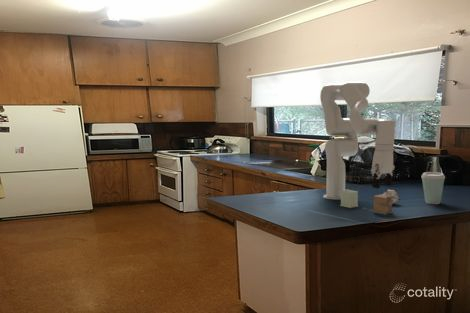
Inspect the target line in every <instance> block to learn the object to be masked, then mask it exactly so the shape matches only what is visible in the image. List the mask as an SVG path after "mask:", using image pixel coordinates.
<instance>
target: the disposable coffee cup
mask: <svg viewBox="0 0 470 313" xmlns="http://www.w3.org/2000/svg"><path fill="white" fill-rule="evenodd" d="M445 179H446V176H445V174H444V173H442V172H438V171H426V172H423V173H422V174H421V181H422V189H423V194H424V201H425V204H430V205H439V204H440V203H441V200H442V194H443V190H444V183H445Z"/></svg>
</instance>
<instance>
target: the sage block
mask: <svg viewBox="0 0 470 313" xmlns="http://www.w3.org/2000/svg"><path fill="white" fill-rule="evenodd" d="M358 194H359V191H358V190H354V189H353V190H352V189H348V190H347V189H346V190H344V191H341V199H340V205H341V206H340V207H344V206H346V207H345V208H349V207H353V208H356V207H355V206H357V207H359V205H358V202H359V201H358V199H359V195H358Z"/></svg>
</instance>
